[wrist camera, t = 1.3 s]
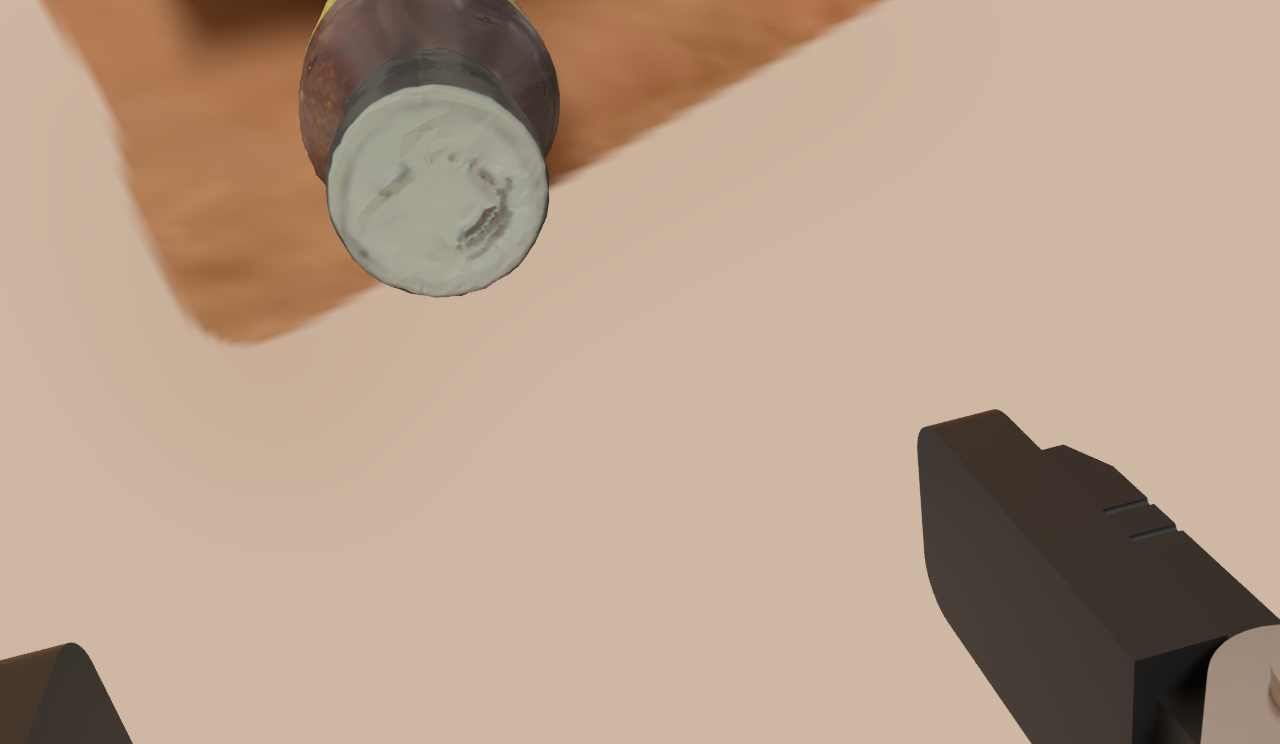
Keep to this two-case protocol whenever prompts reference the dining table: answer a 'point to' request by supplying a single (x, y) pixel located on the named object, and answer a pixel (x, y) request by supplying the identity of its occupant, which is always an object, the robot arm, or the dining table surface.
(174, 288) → the dining table surface
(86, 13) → the dining table surface
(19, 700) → the robot arm
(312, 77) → the sauce bottle
